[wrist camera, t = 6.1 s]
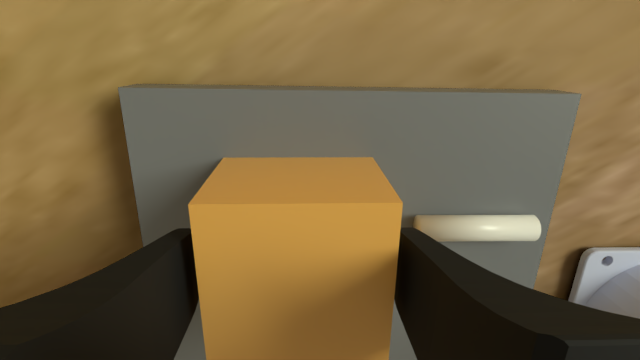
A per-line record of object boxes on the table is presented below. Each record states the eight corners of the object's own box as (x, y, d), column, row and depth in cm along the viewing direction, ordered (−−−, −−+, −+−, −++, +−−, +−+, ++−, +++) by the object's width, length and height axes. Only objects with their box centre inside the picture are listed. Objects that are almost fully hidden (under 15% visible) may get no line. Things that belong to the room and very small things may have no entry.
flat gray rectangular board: (553, 89, 14) (659, 105, 10) (499, 335, 18) (558, 421, 14) (137, 83, 14) (62, 98, 9) (173, 341, 18) (132, 433, 13)
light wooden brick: (372, 157, 13) (402, 203, 9) (365, 283, 15) (387, 367, 11) (223, 157, 13) (188, 204, 9) (233, 285, 15) (207, 372, 11)
